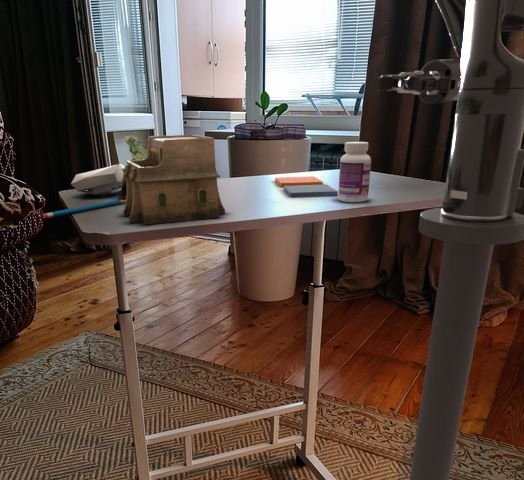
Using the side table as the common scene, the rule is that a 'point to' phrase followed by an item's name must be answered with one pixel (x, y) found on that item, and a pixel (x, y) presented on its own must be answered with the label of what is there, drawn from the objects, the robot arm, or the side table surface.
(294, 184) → the terracotta pad
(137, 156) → the terrain
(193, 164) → the miniature house
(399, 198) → the side table surface
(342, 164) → the pill bottle
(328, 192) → the slate pad
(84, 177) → the turret
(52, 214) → the pencil
